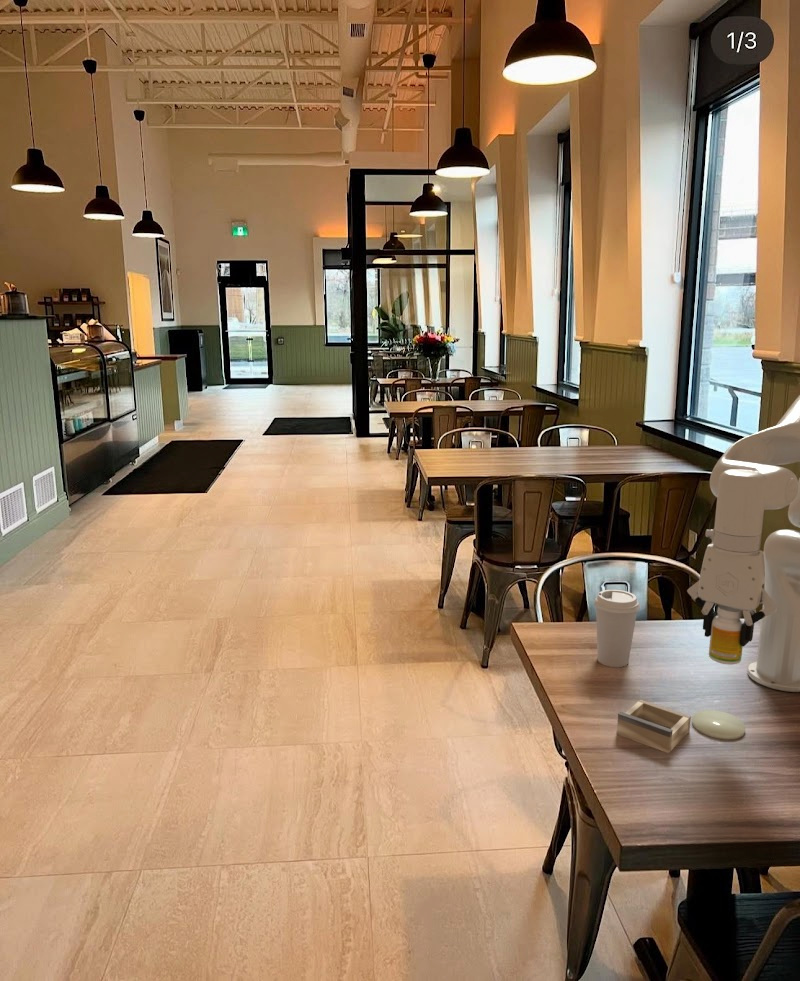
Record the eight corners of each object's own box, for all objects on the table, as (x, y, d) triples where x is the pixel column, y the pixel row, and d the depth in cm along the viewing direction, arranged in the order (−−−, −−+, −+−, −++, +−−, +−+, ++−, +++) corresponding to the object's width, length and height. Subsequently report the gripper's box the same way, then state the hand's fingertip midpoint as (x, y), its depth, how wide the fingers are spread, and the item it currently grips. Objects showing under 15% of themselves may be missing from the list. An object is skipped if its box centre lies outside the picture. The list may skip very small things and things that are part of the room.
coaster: (702, 709, 146) (702, 705, 146) (751, 725, 140) (752, 721, 140) (684, 727, 140) (684, 723, 139) (735, 745, 134) (735, 740, 134)
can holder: (639, 714, 144) (640, 694, 143) (689, 731, 138) (691, 711, 137) (616, 734, 137) (618, 713, 136) (668, 753, 131) (670, 732, 130)
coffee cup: (601, 647, 173) (605, 585, 170) (642, 659, 167) (647, 594, 164) (582, 662, 166) (586, 596, 163) (624, 674, 160) (629, 607, 157)
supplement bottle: (744, 666, 134) (749, 614, 132) (711, 663, 135) (716, 612, 133) (737, 653, 139) (742, 603, 137) (706, 651, 140) (710, 601, 138)
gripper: (679, 536, 135) (671, 632, 139) (783, 555, 124) (771, 659, 128) (695, 528, 141) (686, 620, 144) (796, 546, 130) (784, 645, 133)
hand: (726, 638), depth 136 cm, fingers closed on supplement bottle, 5 cm apart
